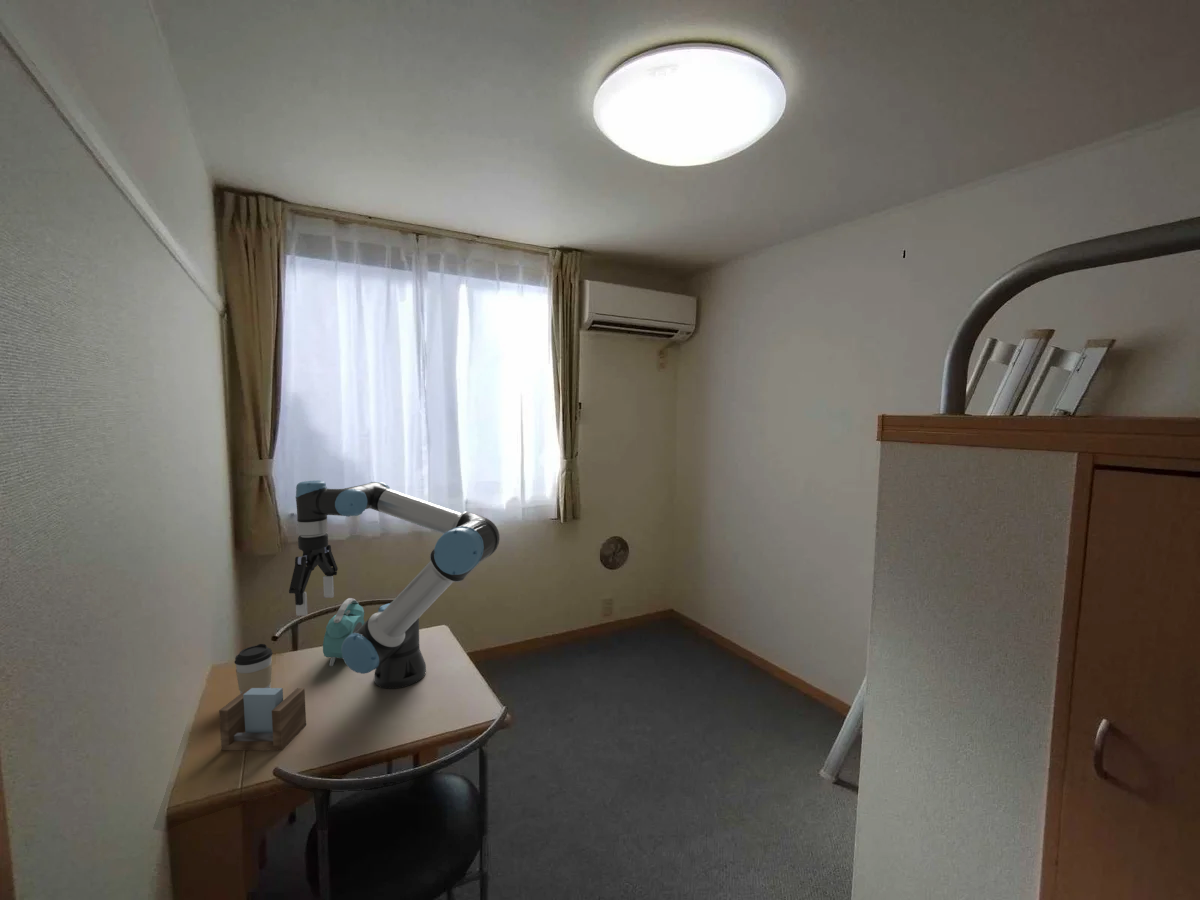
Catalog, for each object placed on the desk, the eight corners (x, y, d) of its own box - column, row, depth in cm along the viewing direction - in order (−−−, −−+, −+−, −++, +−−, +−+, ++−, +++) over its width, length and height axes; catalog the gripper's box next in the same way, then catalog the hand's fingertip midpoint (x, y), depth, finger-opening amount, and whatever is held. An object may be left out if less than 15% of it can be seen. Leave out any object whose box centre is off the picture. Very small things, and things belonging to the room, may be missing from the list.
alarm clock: (341, 645, 177) (339, 591, 176) (369, 644, 178) (367, 590, 177) (318, 670, 160) (315, 610, 159) (349, 669, 161) (346, 609, 159)
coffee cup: (255, 709, 139) (252, 658, 138) (228, 706, 141) (225, 654, 140) (282, 692, 148) (279, 643, 147) (256, 688, 150) (254, 640, 148)
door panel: (284, 728, 129) (282, 688, 128) (276, 736, 126) (274, 694, 125) (253, 728, 129) (251, 688, 128) (245, 736, 126) (243, 694, 125)
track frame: (306, 725, 132) (304, 688, 131) (281, 750, 122) (279, 710, 121) (250, 724, 132) (248, 687, 131) (221, 750, 122) (219, 710, 121)
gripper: (324, 524, 156) (327, 590, 158) (271, 545, 131) (275, 623, 133) (348, 524, 156) (350, 590, 158) (299, 545, 131) (302, 623, 133)
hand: (316, 605), depth 145 cm, fingers open, 13 cm apart
